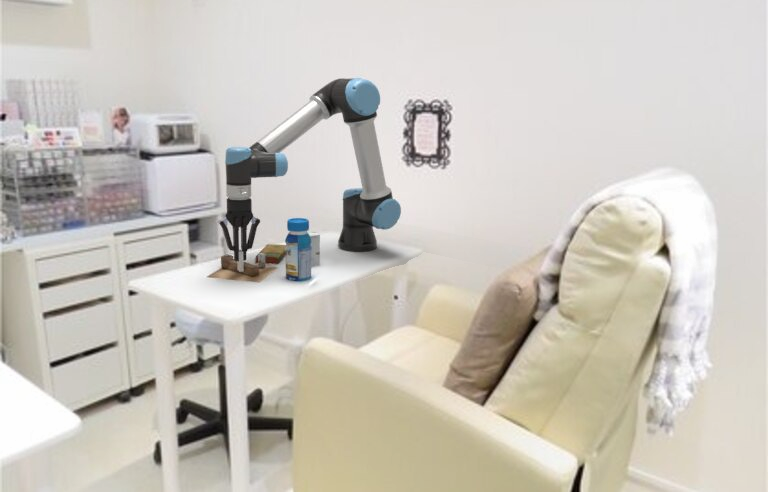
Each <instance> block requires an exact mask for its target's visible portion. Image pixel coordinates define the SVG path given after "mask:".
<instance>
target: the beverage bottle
mask: <svg viewBox="0 0 768 492" xmlns="http://www.w3.org/2000/svg"><path fill="white" fill-rule="evenodd" d="M286 222H287V224H286V225H287V226H286V227H287V231H288V232H287V235H286V237H285V240H284V241H285V245H286V247H285V253H286V256H285V279H286V280H287V281H290V282H306V281H309V280H311V279H312V277H313V276H312V267H311V252H312V247H311V245H310V244H311V238H310V236H309V234H308V233H309V230H310V221H309V219H308V218H302V217H294V218H293V217H291V218H288V219H287V221H286Z"/></svg>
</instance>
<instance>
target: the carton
mask: <svg viewBox="0 0 768 492" xmlns="http://www.w3.org/2000/svg"><path fill="white" fill-rule="evenodd" d="M285 247H286V244H274V243H272V244H271V243H268V244H265V246H264V247H263V248H261V250H260V252H258V253H265V258H266V265H267V264H269V265H279V264H280V263H281V262H282V261H283V259H285V258H286V253H285ZM258 253H257V255H255V264H258Z"/></svg>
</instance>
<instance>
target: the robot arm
mask: <svg viewBox="0 0 768 492" xmlns="http://www.w3.org/2000/svg"><path fill="white" fill-rule="evenodd" d="M380 94H381V93H380V91H379V89H378V87H377V86H376V85H375V83H374V82H372V81H370V80H368V79H366V78H365V79H364V78H360V77H358V78H357V77H356V78H345V77H344V78H337V79H334V80H332V81H330V82H328V83H327V84H325V85H324V86H322V87H321V88H320V89H319V90H317V91H316V92H314V93H313V94H312V95H310V97H309V101H308V102H307V103H306V104H303V105H302V107H300V108H299V109H297V110H296V111H294V112H293V113H292V114H291V115H290V116H289V117H287V118H286V119H285V120H283V121H281V122H280V123H279V124H278V125H277V126H275V127H274V128H273V129H272V130H270V131H269V132H268V133H266V134H265V135H264V136H263V137H261V138H260V139H259V140H258V141H256V142H255V143H254V144H252V145H250V146H249V147H244V146H230V147H227V149H226V150H225V160H224V162H225V163H224V164H225V175H226V176H225V178H226V179H225V180H226V183H225V184H226V185H225V186H226V188H225V189H226V191H225V192H226V193H225V194H226V197H227V198H226V213H225V216H224V218H223V219H219V220H218V224H219V225H220V227H221V229H222V232H223V236H224V239H225V242H226V246H227V249H229V250H230V251H232V252H233V259H234V260H235V261H237V270H238V271H239V272H243V271H244V268H243V262H246V260H247V252H248V250H251V249H252V248H253V246H254V241H255V237H256V233H257V229H258V226H259V224H260V223H261V219H260V218H258V217H255V216H254V214H253V212H252V211H253V210H252V209H253V207H252V204H253V203H252V198H251V197H252V179H256V178H279V177H284V176H286V175H287V172H288V170H289V161H288V158H287V156H286V155H285V154H284V153H282V151H284V150H285V149H286V148H288V147H289V146H291V145H292V144H293V143H295V142H296V141H297V140H298V139H299V138H301V137H302V136H303V135H304V134H306V133H307V132H308V131H309V130H311V129H312V128H314V126H316V125H317V124H318V123H320V122H321V121H322V120H328V119H329V118H331V117H332V116H335V115H336V114H337V115H338V114H341V113H342V120H343V122H344V123H343V124H346V125H347V126H348V127H349V130H350V135H351V139H352V145H353V149H354V154H355V158H356V164H357V168H358V169H357V170H358V173H359V178H360V183H361V187H360V188H359V187H358V188H348V189H345V190H344V191H343V194H342V229H341V232H340V235H339V238H338V242H337V243H338V244H337V246H338V249H341V250H344V251H348V252H368V251H374V250H375V249H377V247H378V242H377V241H378V240H377V237H376V234H375V231H374V228H375V229H378V230H385V231H386V230H390V229H391V228H393V227H394V226H395V225H397V224H398V221H399V220H400V218H401V213H402V208H401V207H402V206H401V204H400V203H399V201H398V200H396V199H395V198H393V193H392V188H390V187H389V186H388V185H387V183H386V179H385V173H384V167H383V163H382V162H383V161H382V158H381V152H380V147H379V143H378V138H377V132H376V131H377V130H376V127H375V120H376V119H377V117H378V113H377V110H379V105H380V104H381V95H380ZM228 222H229V224H230V226H232V240H233V242H232V240H231V236H230V232H229V229H228ZM250 223H251V226H250V229H249V234H248V236H247V232H248V231H247V230H248V225H249V224H250ZM239 231H240V232H239ZM239 233H240V234H239Z"/></svg>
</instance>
